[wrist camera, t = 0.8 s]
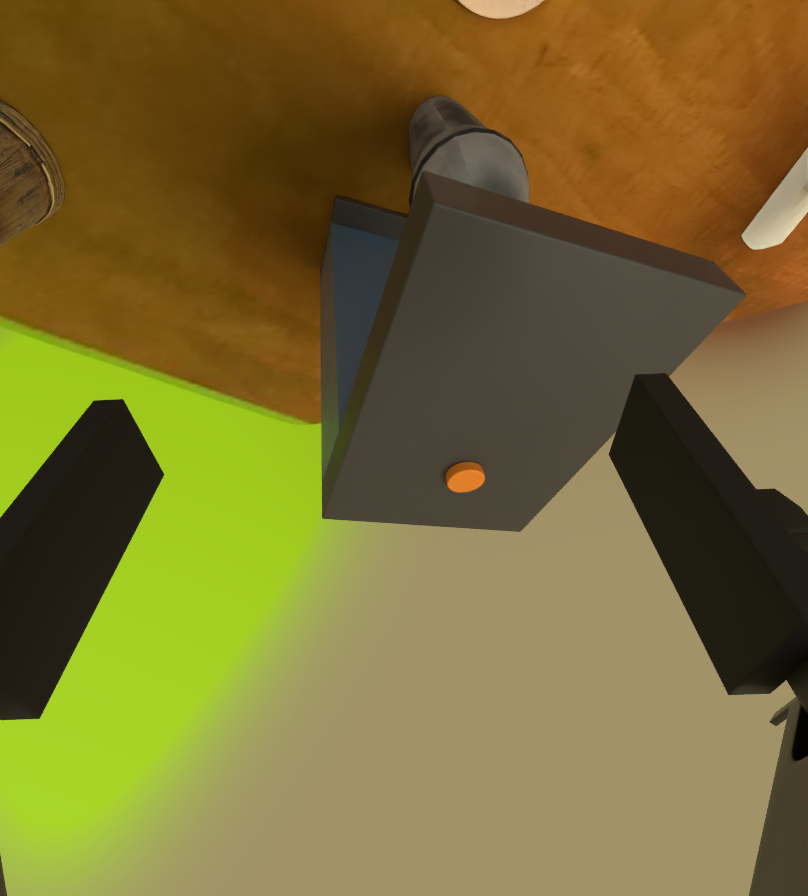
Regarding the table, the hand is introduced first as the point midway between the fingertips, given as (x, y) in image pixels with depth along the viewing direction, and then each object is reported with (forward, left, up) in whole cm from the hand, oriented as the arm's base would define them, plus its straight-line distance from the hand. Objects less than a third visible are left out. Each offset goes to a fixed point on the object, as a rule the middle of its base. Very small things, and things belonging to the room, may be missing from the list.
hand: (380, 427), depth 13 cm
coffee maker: (+4, +8, -32) cm, 34 cm away
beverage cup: (0, +8, -32) cm, 33 cm away
